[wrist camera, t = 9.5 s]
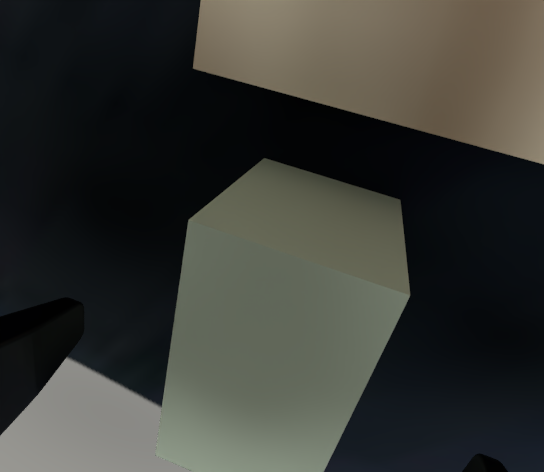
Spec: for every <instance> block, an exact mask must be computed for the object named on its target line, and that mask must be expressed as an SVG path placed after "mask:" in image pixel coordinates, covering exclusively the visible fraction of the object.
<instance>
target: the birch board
mask: <svg viewBox="0 0 544 472" xmlns="http://www.w3.org/2000/svg"><path fill="white" fill-rule="evenodd" d="M193 69H196V70H200V71H204V72H207V73H211V74H215V75H218V76H222V77H226V78H229V79H233V80H237V81H240V82H244V83H248V84H251V85H255V86H259V87H262V88H266V89H270V90H273V91H277V92H281V93H284V94H288V95H292V96H295V97H299V98H303V99H306V100H310V101H314V102H317V103H321V104H325V105H328V106H332V107H336V108H339V109H343V110H347V111H350V112H354V113H358V114H361V115H365V116H369V117H372V118H376V119H380V120H383V121H387V122H391V123H394V124H398V125H402V126H405V127H409V128H413V129H416V130H420V131H424V132H427V133H431V134H435V135H438V136H442V137H446V138H449V139H453V140H457V141H460V142H464V143H468V144H471V145H475V146H479V147H482V148H486V149H490V150H493V151H497V152H501V153H504V154H508V155H512V156H515V157H519V158H523V159H526V160H530V161H534V162H537V163H541V164H544V0H201V3H200V12H199V20H198V29H197V38H196V46H195V55H194V63H193Z"/></svg>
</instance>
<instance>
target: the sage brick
mask: <svg viewBox="0 0 544 472" xmlns="http://www.w3.org/2000/svg"><path fill="white" fill-rule="evenodd" d="M409 297H410V288H409V278H408V268H407V259H406V249H405V239H404V230H403V220H402V211H401V201H400V200H399V199H396V198H393V197H390V196H386V195H383V194H380V193H377V192H373V191H370V190H367V189H363V188H360V187H357V186H354V185H350V184H347V183H344V182H341V181H337V180H334V179H331V178H328V177H324V176H321V175H318V174H315V173H311V172H308V171H305V170H302V169H298V168H295V167H292V166H289V165H285V164H282V163H279V162H276V161H272V160H269V159H266V158H264V159H263V160H261V161H260V162H259V163H258V164H256V165H255V166H254V167H253V168H252V169H250V170H249V171H248V172H247V173H245V174H244V175H243V176H242V177H241V178H239V179H238V180H237V181H236V182H234V183H233V184H232V185H231V186H230V187H228V188H227V189H226V190H225V191H223V192H222V193H221V194H220V195H219V196H217V197H216V198H215V199H214V200H212V201H211V202H210V203H209V204H207V205H206V206H205V207H204V208H203V209H201V210H200V211H199V212H198V213H196V214H195V215H194V216H193V217H192V218H190V219H189V220H188V227H187V234H186V241H185V248H184V255H183V262H182V269H181V276H180V283H179V290H178V297H177V305H176V312H175V319H174V326H173V333H172V340H171V347H170V354H169V361H168V368H167V375H166V382H165V389H164V396H163V404H162V411H161V418H160V425H159V432H158V440H157V446H156V453H155V456H158V457H160V458H162V459H165V460H167V461H169V462H172V463H174V464H176V465H179V466H181V467H183V468H185V469H188V470H190V471H192V472H324V470H325V468H326V466H327V464H328V462H329V460H330V458H331V456H332V454H333V452H334V450H335V448H336V445H337V443H338V441H339V439H340V437H341V435H342V433H343V431H344V429H345V427H346V425H347V423H348V421H349V419H350V417H351V415H352V413H353V411H354V409H355V407H356V405H357V403H358V401H359V399H360V397H361V395H362V393H363V391H364V389H365V387H366V385H367V382H368V380H369V378H370V376H371V374H372V372H373V370H374V368H375V366H376V364H377V362H378V360H379V358H380V356H381V354H382V352H383V350H384V348H385V346H386V344H387V342H388V340H389V338H390V336H391V334H392V332H393V330H394V328H395V326H396V324H397V322H398V320H399V317H400V315H401V313H402V311H403V309H404V307H405V305H406V303H407V301H408V299H409Z"/></svg>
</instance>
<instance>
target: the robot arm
mask: <svg viewBox="0 0 544 472" xmlns="http://www.w3.org/2000/svg"><path fill="white" fill-rule="evenodd" d="M83 332H84V306H83V304H82V303H81V302H79V301H76V300H73V299H71V298H61V299H58V300H54V301H51V302H48V303H44V304H41V305H37V306H34V307H31V308H27V309H24V310H21V311H17V312H14V313H11V314H7V315H4V316H1V317H0V435H1V434H2V433H3V432H4V431H5V430H6V429H7V428H8V427H9V425H10V424H11V423H12V422H13V421H14V420H15V419H16V418H17V417H18V416H19V415H20V413H21V412H22V411H23V410H24V409H25V408H26V407H27V406H28V405H29V404H30V402H31V401H32V400H33V399H34V398H35V397H36V396H37V395H38V394H39V392H40V391H41V390H42V389H43V387H44V386H45V385H46V383H47V382H48V381H49V380H50V378H51V377H52V376H53V374H54V373H55V371H56V370H57V369H58V368H59V366H60V365H61V364H62V362H63V361H64V360H65V359H66V357H67V356H68V355H69V353H70V352H71V351H72V349H73V348H74V347H75V345H76V344H77V343H78V342H79V340H80V339H81V337H82V335H83ZM462 472H508V471H507V470H506V468H505V467H504V466H503V464H502V463H501V462H500V461H498V460H496V459H494V458H491V457H488V456H486V455H483V454H476V455H475V456H474V457H473V458H472V459H471V461H470V462H469V463H468V465H467V466H466V467H465V469H464V470H463V471H462Z"/></svg>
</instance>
